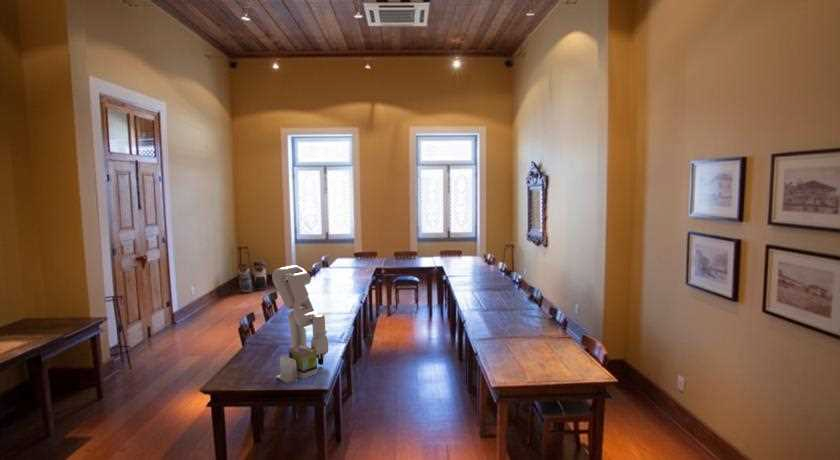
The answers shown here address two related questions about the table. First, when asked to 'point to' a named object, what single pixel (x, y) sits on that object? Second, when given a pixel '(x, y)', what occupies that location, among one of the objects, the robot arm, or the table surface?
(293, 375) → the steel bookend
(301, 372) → the tea box
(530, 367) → the table surface
